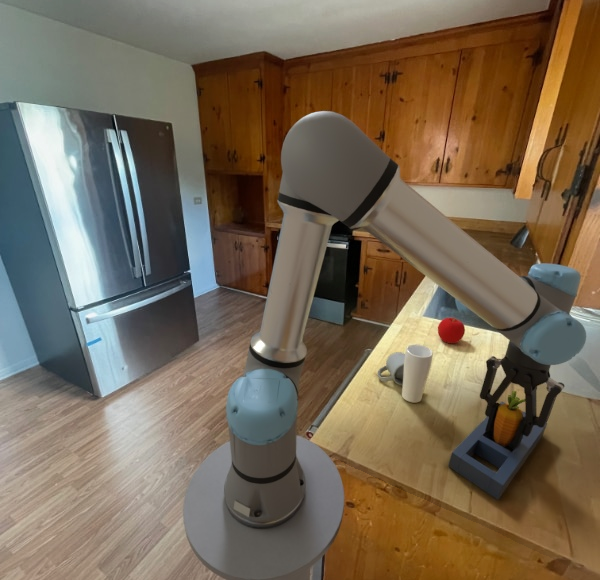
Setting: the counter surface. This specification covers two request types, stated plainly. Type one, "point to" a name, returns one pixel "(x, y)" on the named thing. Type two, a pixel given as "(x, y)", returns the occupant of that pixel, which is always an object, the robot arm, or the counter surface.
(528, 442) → the block with rectangular holes
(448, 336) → the fruit
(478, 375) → the counter surface
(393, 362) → the ceramic mug
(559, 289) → the robot arm
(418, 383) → the drinking glass
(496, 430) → the carrot
